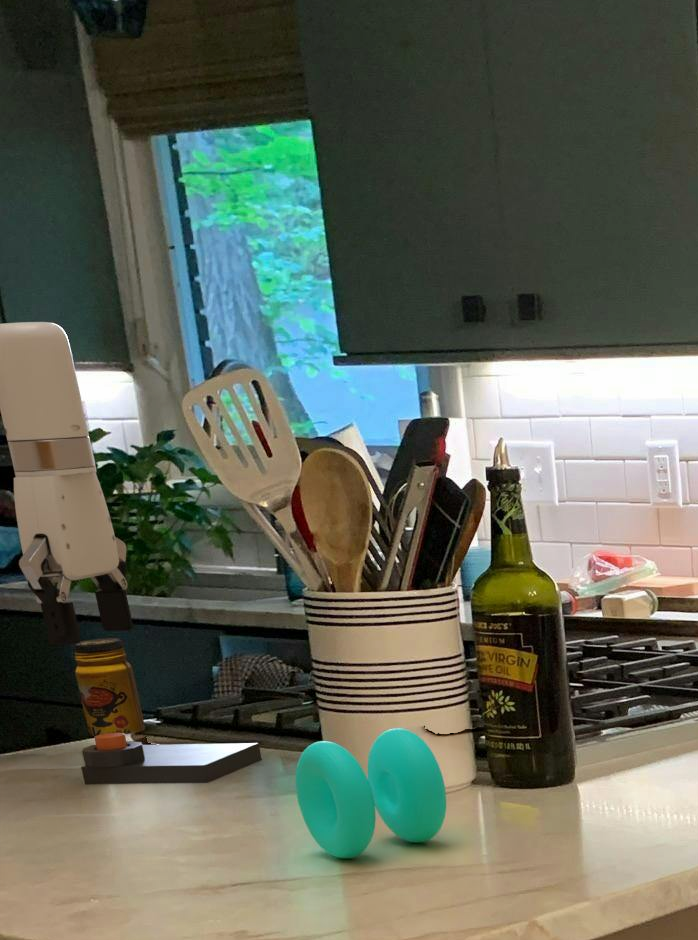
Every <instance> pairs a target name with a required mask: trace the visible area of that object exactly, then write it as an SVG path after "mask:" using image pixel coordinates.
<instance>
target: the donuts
mask: <svg viewBox="0 0 698 940" xmlns="http://www.w3.org/2000/svg"><path fill="white" fill-rule="evenodd" d="M368 753H369V754H368V757H367V767H366V768H367V771H366V772H367V774H366V773H365V771H364V769H363V767H362V765H361V764H360V763H359V761H358V760H357V759H356V757H354V755H353V754H352V753H351V752H350V751H348V749H346V748H345V747H344V746H341V745H340V744H338V743H336V742H334V741H333V742H332V741H327V740H320V741H316V742H313V743H312V744H309V745H308V746H307V747H306V748H305V749H304V750H303V751H302V753H301V754H300V756H299V758H298V761H297V765H296V768H295V769H296V771H295V790H296V796H297V797H296V798H297V802H298V806H299V810H300V813H301V815H302V819H303V820H304V823H305V826H306V828H307V829H308V831H309V833H310V836H311V837H312V838H313V839H314V841H315V842H316V843H317V845H318V846H319V847H320V848H322V850H324V851H325V852H327V854H329V855H331V856H334V857H335V858H339V859H352V858H355V857H357V856H359V855H361V854H362V853H363V852H365V850H366V849H367V848H368V846H369V845H370V843H371V841H372V839H373V836H374V834H375V833H374V832H375V828H376V819H377V818H376V811H377V814H378V815H379V817H380V818H381V820H382V822H383V823H384V825H385V826H386V827H387V828H388V829H389V830H390V831H391V832H392V833H393V834H395V835H396V836H397V837H398V838H400V839H402V840H404V841H407V842H410V843H414V844H417V843H418V844H419V843H424V842H428V841H429V840H431V839H433V838H434V837H435V836H436V835H437V834H438V833H439V832H440V830H441V828H442V826H443V824H444V821H445V818H446V813H447V793H446V786H445V781H444V777H443V773H442V771H441V768H440V765H439V763H438V761H437V758H436V756H435V755H434V752H433V751H432V750H431V748H430V747H429V745H428V744H427V743H426V742H425V741H424V740H423V739H422V738H421V737H420V736H419V735H418V734H416V733H415V732H413V731H412V730H408V729H407V728H406V729H405V728H401V727H395V728H390V729H387V730H385V731H383V732H382V733H381V734H379V735H378V736H377V737H376V739H375V740H374V741H373V743H372V745H371V748H370V751H369V752H368Z"/></svg>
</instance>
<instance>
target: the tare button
mask: <svg viewBox="0 0 698 940" xmlns="http://www.w3.org/2000/svg"><path fill="white" fill-rule="evenodd" d="M93 737H94V742H95V745H96V747H97V750H111V749H119V748H124V747H127V742H126V741H127V737H126V734H124V733H107V734H101V735H97V736H93Z"/></svg>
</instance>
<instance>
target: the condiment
mask: <svg viewBox="0 0 698 940" xmlns="http://www.w3.org/2000/svg"><path fill="white" fill-rule="evenodd" d="M73 651H74V654H75V656H74V657H75V662H76V663H77V666H76V669H75V671H74V672H75V678H76V681H77V686H78V690H79V693H80V700H81V704H82V709H83V713H84V717H85V720H86V727H87V730H88V733H89V735H90V736H92V737H95V736H97V735H101V734H107V733H124V734H125V735H131V734H137V733H141V732H144V731H145V730H146V725H145V721H144V716H143V712H142V707H141V702H140V698H139V693H138V689H137V684H136V678H135V676H134V674H135V673H134V670H133V668H132V665H131V664H130V662H128V661H127V654H126V652H125V647H124V643H123V641H122V640H121V639H120V638H97V639H89V640H88V639H87V640H83V641H81V642H80V643H78V644H73ZM147 736H148V735H145V736H142V737H139V738H137V739H135V740H133V741H135V742H141V743H142V745H158V744H157V743H156V744H151V743H148V742H147V738H146V737H147Z"/></svg>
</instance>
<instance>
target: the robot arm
mask: <svg viewBox="0 0 698 940" xmlns="http://www.w3.org/2000/svg"><path fill="white" fill-rule="evenodd" d="M78 382H79V381H78V377H77V373H76V368H75V363H74V359H73V353H72V349H71V345H70V342H69V339H68V335H67V334H66V332H65V330H64V329H63V327H61V326H60V325H58V324H56V323H54V322H47V321H26V322H25V321H24V322H22V321H20V322H7V323H6V322H5V323H0V415H1V420H2V424H3V427H4V432H5V436H6V441H7V445H8V449H9V454H10V459H11V462H12V467H13V471H14V476H15V477H13V495H14V498H13V499H14V509H15V516H16V522H17V528H18V535H19V541H20V546H21V552H22V556H21V557H20V559H19V560H18V566H19V569H20V570H21V572H22V573H23V575H24V577H25V579H26V581H27V585H28V589H30V590H31V592H32V593H33V594H34V598H35V602H36V603H37V604H39V605H40V608H41V611H42V617H43V621H44V625H45V629H46V633H47V636H48V637H47V638H48V641H49V643H50V644H51V645H53V646H56V645H58V646H59V645H60V646H61V645H74V644H78V643H80V642H82V637H81V633H80V630H79V629H80V628H79V625H78V619H77V616H76V610H75V607H74V602H73V601H68V599H69V594H70V589H71V585H72V581H78V580H84V579H88V578H89V579H91V581H92V582H93V583H94V584H95V586H96V587H97V589H98V590H95V591H94V595H95V599H96V604H97V608H98V614H99V617H100V621H101V627H102V629H103V630H104V631H105V632H118V631H119V632H120V631H131V630H133V628H134V623H133V618H132V615H131V609H130V603H129V601H128V595H127V591H126V590H128V582H127V579H126V575H127V572H128V566H127V563H126V561H127V545H126V543H125V542H124V541H122V540H121V539H120V538H118V537H116V536H115V531H114V527H113V523H112V520H111V515H110V512H109V510H108V509H109V508H108V505H107V502H106V498H105V495H104V492H103V489H102V486H101V483H100V481H99V479H98V475H97V471H98V470H97V467H96V461H95V457H94V453H93V446H92V444H91V439H90V438H91V437H89V436H90V433H89V429H88V424H87V420H86V414H85V411H84V405H83V401H82V396H81V393H80V387H79V383H78ZM55 584H57V585H55Z"/></svg>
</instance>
